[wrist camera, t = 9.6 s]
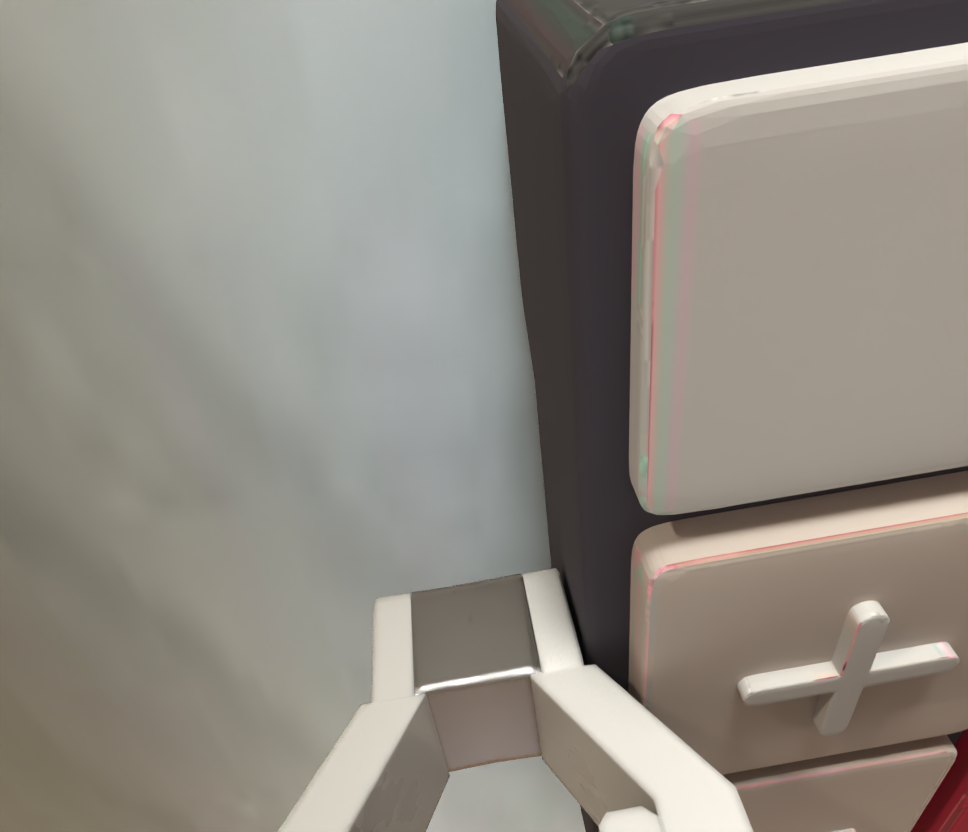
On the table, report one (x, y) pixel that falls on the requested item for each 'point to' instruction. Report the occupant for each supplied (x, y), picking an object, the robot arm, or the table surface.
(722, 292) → the calculator
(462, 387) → the table surface
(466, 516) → the table surface
